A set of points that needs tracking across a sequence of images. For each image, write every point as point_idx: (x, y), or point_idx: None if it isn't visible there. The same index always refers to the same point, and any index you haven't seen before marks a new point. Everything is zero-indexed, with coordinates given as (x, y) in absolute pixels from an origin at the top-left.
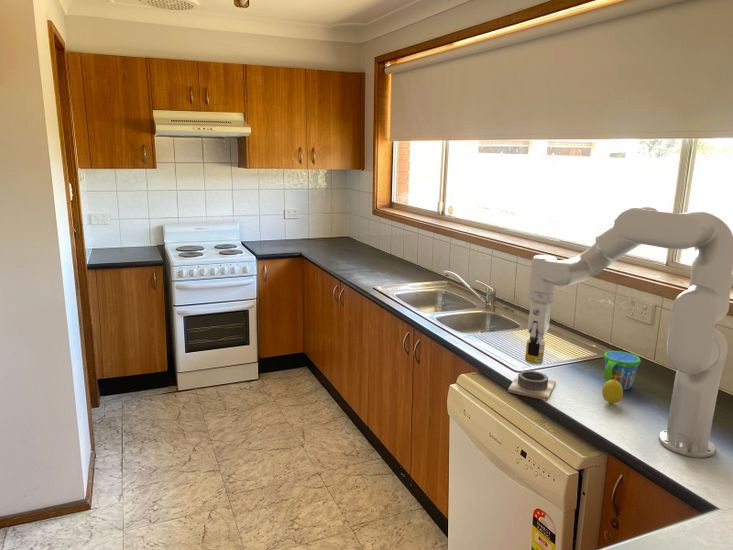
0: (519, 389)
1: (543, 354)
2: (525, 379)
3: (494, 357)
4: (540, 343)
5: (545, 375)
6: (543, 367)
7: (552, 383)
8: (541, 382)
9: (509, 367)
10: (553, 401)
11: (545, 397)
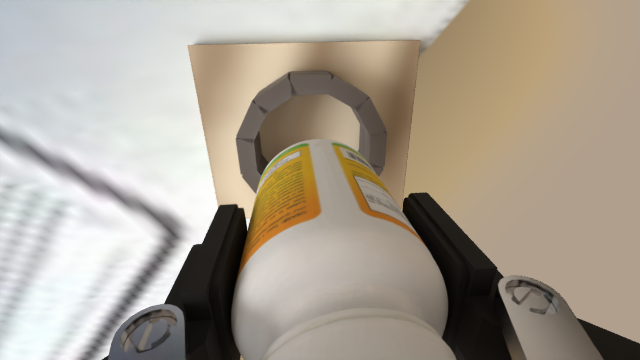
0: (388, 172)
1: (330, 162)
2: (378, 174)
3: (95, 328)
4: (431, 263)
5: (265, 98)
6: (16, 148)
7: (231, 55)
8: (369, 97)
9: (151, 262)
10: (411, 11)
11: (417, 53)
